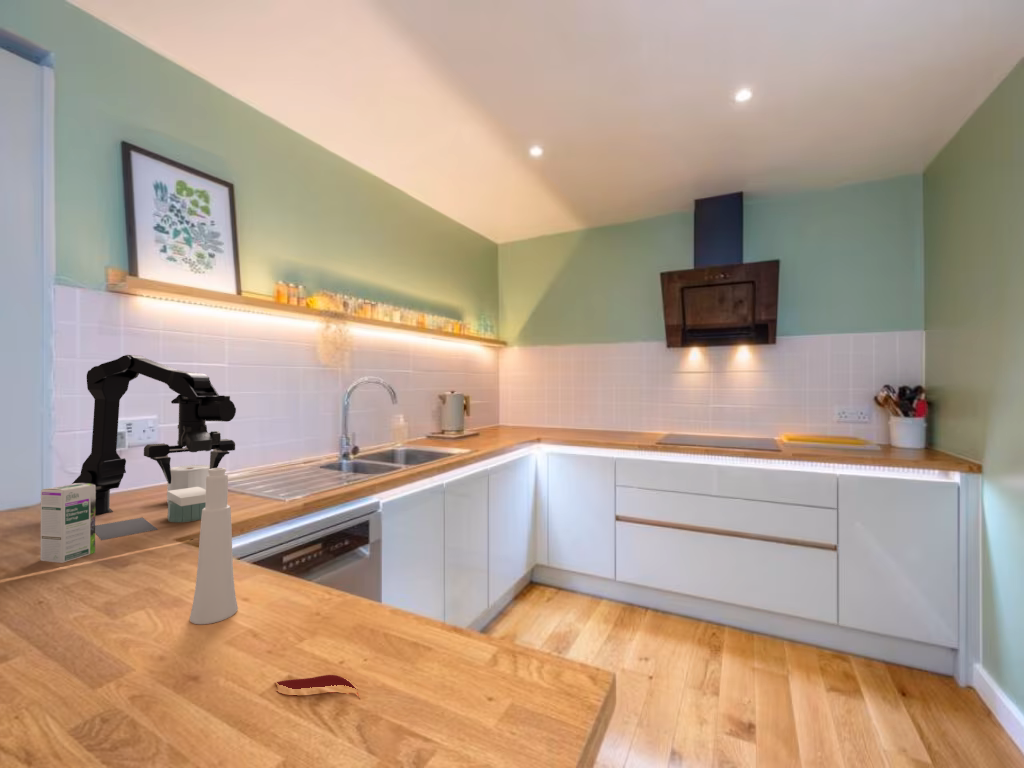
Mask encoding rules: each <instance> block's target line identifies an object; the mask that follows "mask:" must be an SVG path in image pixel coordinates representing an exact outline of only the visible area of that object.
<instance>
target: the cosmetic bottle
mask: <svg viewBox="0 0 1024 768" xmlns="http://www.w3.org/2000/svg"><path fill="white" fill-rule="evenodd" d="M226 472H227V468H226V467H217V468H212V469H209V470H208V473H209V475H208V476H207V477H206V506H205V508H203V509H202V516H201V519H200V531H199V539H198V540H199V543H198V545H199V546H198V557H197V566H196V567H197V570H196V578H195V579H196V580H195V587H194V588H195V589H194V596H193V601H192V604H191V605H192V607H191V611H190V616H189V621H190V623H192V624H194V625H210V624H211V625H212V624H214V623H218V622H222V621H225V620H226V619H229V618H231V617H232V616H234V615H235V614H236V613H237V611H238V609H239V607H238V601H237V597H236V596H237V595H236V589H235V578H234V563H233V560H234V559H233V533H232V532H233V531H232V530H233V529H232V510H231V505H229V504H228V497H229V496H228V495H229V494H228V490H229V476H228V474H227V473H226Z"/></svg>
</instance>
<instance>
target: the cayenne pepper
mask: <svg viewBox="0 0 1024 768" xmlns="http://www.w3.org/2000/svg"><path fill="white" fill-rule="evenodd" d="M344 678H345V677H343V676H340V675H337V674H325V675H318V676H314V677H307V678H295V679H285V680H280V681H276V682H277V683H278V684H279V685H283V686H286V687H288V688H292V689H301V688H310V687H311V688H312V687H325V686H331V685H332V686H334V685H336V686H337V685H344V686H345V685H346V686H349V687H352V688H355V687H354V686H353V685H352V684H351V683H350V682H349V681H347V680H346V679H347V678H346V679H344ZM355 689H356V688H355Z"/></svg>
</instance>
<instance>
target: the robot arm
mask: <svg viewBox="0 0 1024 768" xmlns="http://www.w3.org/2000/svg"><path fill="white" fill-rule="evenodd" d="M139 375H143V376H145V377H147V378H149V379H153V380H156V381H159V382H160V383H164V384H165V385H167V386H168V388H169V389H170V390H171V391H173V392H175V393H177V394H178V395H177V396H176V397H175V398H173V399H172V400H171V401H170V402H171V404H172V405H173V404H178V424H177V429H178V430H177V431H178V436H177V437H178V438H177V439H178V440H177V441H176V442H177V443H176V444H175V445H169V444H168V443H167V444H166V443H164V442H163V443H153V444H151V443H150V444H146V445H145V446H144V448H143V456H144V457H146V458H149V459H150V460H152V461H153V460H154V461H155V462H156V463H157V464H158V465H159V467H160V469H161V470H162V473H163V475H164V477H165V480H166V482H167V483H168V484H171V469H170V468H171V459H172V458H171V457H170V456H169V454H173V453H176V454H177V453H184V452H186V453H187V452H189V453H197V452H210V453H209V454H210V455H209V456H210V457H209V466H210V469H212V468H219V465H220V463H221V461H222V459H223V458H224V457H225V456H226V455H229V454H230V453H231V452H230V451H232V452H233V451H236V443H235V441H234V440H233V439H230V438H228V439H227V438H223V439H222V438H221V431H220V430H216V431H215V430H214V431H212V430H211V431H210V432H208V427H207V424H206V422H230V421H232V420H233V419H234V418H235V416H236V414H237V413H236V412H237V407H235V404H234V402H233V400H231V396H230V395H220V394H219V393H218V391H217V390H216V388H215V386H214V385H213V384H212V383H211V380H210V377H209V376H208V375H207V374H205V373H199V372H194V371H193V372H192V371H184V370H179V369H176V368H173V367H171V366H168V365H165V364H162V363H159V362H157V361H154V360H152V359H148V358H146V357H144V356H143V355H135V354H125V355H122V356H121V357H118V358H116V359H113V360H109V361H107V362H103V363H101V364H98V365H94V366H93V367H91V369H88V371H87V372H86V386H87V387H86V388H87V391H88V393H90V394H91V396H92V397H93V399H94V404H93V405H94V406H93V420H92V421H93V422H92V433H91V434H92V436H91V452H90V454H89V455H88V457H87V458H86V459H85V461H84V462H83V463H82V466H81V470H80V474H79V475H78V477H77V478H76V479H75V480H73V482H71V484H74V483H89V484H95V486H96V499H95V516H98V515H103V514H110V513H113V512H114V511H113V509H112V508H110V507H111V506H110V503H111V502H110V500H111V499H110V496H111V490H114V489H119V487H120V484H121V482H122V480H123V479H124V475H125V474H127V471H126V464H127V460H126V458H121V456H120V455H119V454H118V452H117V450H118V449H117V446H118V433H119V432H118V431H119V417H120V400H121V399H122V398H123V396H124V395H125V394H126V393H127V391H128V389H129V384H130V382H131V381H133V380H134V379H137V378H138V376H139ZM168 484H167V485H168Z"/></svg>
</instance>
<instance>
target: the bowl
mask: <svg viewBox="0 0 1024 768" xmlns="http://www.w3.org/2000/svg"><path fill="white" fill-rule="evenodd" d="M205 506H206V502H205V503H199V504H192V505H186V506H179V505H178V504H176V503H174V502H172V501H169V502H168V503H167V521H168V522H170V523H188V522H189V523H190V522H194V521H201V516H202V509H203V508H205Z"/></svg>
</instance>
